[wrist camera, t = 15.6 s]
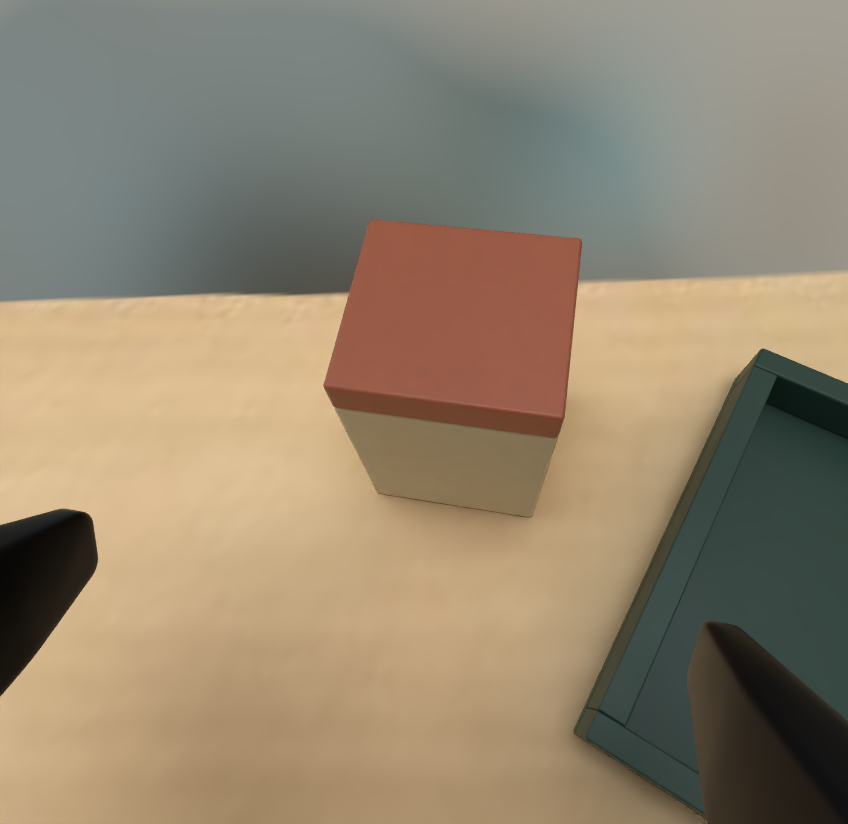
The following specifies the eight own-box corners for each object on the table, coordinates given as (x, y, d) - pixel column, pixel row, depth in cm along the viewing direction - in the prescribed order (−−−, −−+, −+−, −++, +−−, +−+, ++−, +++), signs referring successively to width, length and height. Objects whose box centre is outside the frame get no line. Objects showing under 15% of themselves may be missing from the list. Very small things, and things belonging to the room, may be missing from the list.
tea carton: (531, 518, 21) (564, 419, 13) (376, 493, 22) (321, 387, 14) (546, 389, 23) (582, 237, 15) (404, 370, 24) (368, 217, 16)
